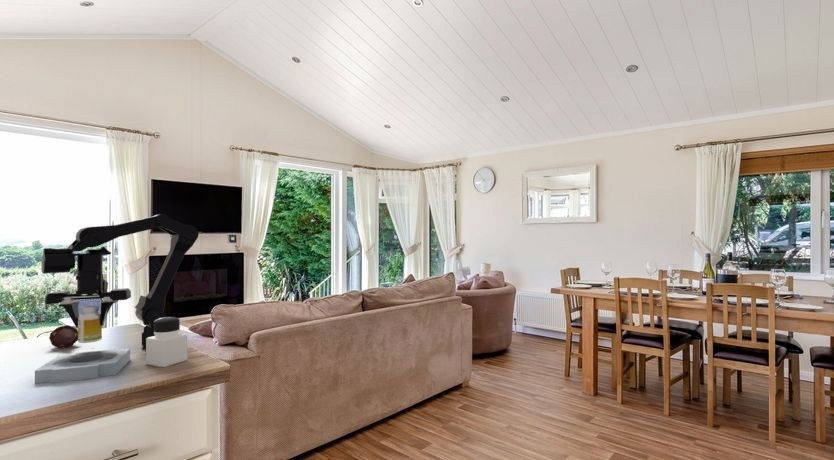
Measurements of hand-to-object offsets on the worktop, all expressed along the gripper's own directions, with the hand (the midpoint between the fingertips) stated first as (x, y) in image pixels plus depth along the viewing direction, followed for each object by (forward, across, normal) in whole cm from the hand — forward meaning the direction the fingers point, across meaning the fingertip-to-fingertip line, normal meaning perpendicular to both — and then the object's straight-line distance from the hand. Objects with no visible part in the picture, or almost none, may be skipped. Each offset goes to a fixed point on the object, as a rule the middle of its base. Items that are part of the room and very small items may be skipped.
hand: (89, 326), depth 122 cm
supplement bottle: (+4, 0, 0) cm, 4 cm away
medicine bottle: (+9, -21, +14) cm, 27 cm away
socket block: (+9, -3, +14) cm, 17 cm away
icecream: (+9, +11, -18) cm, 23 cm away
